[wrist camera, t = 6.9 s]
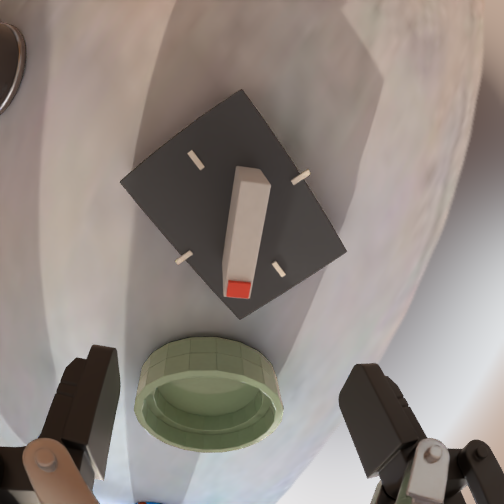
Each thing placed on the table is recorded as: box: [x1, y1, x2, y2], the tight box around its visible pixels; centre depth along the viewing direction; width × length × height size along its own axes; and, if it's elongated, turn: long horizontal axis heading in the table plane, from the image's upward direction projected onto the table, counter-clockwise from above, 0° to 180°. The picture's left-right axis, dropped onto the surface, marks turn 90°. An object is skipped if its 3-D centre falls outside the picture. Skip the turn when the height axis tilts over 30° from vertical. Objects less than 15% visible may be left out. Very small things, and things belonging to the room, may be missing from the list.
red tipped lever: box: [222, 166, 271, 299], centre depth 19 cm, size 7×2×5 cm, turn 171°
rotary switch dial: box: [120, 89, 347, 320], centre depth 23 cm, size 14×11×3 cm
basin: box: [134, 337, 284, 453], centre depth 30 cm, size 15×15×5 cm
